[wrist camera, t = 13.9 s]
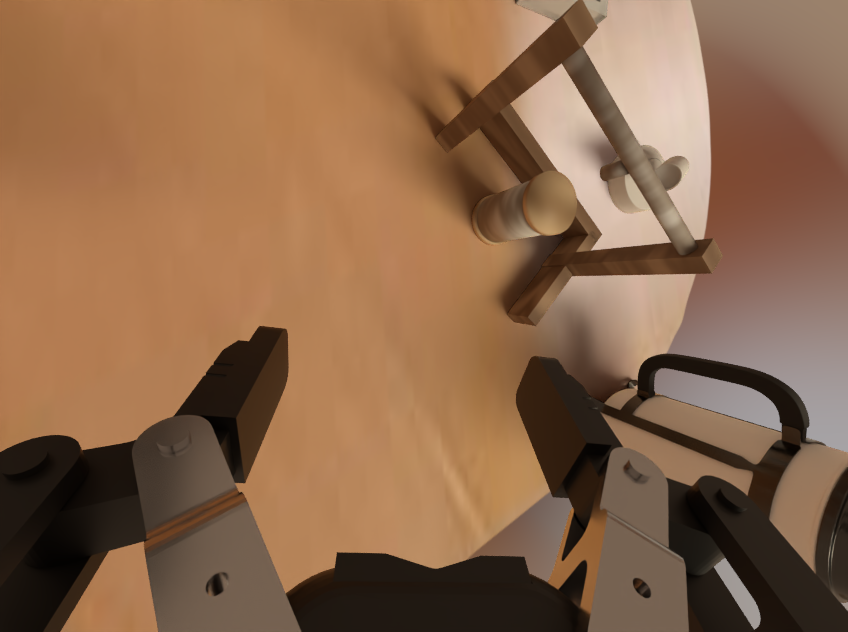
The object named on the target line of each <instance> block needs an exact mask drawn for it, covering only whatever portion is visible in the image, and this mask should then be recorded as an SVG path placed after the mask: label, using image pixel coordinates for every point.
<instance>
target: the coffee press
mask: <svg viewBox="0 0 848 632" xmlns="http://www.w3.org/2000/svg"><path fill="white" fill-rule="evenodd" d="M661 368H668V369H674V370H678V371H683V372H688V373H692V374H696V375H701V376H705V377H709V378H714V379H718V380H723V381H727V382H731V383H736V384H740V385H743V386H747V387H750V388H752V389H755V390H757V391H759V392H760V393H762V394H763V395H765V396H766V397H767V398H769V399H770V400H771V401H772V402H773V403H774V405H775V406H776V408H777V410H778V412H779V416H780V423H782V432H781V431H777V430H774V429H770V428H767V427H764V426H761V425H757V424H754V423H751V422H747V421H744V420H741V419H737V418H734V417H731V416H727V415H724V414H721V413H717V412H714V411H711V410H708V409H704V408H701V407H698V406H694V405H691V404H688V403H684V402H681V401H678V400H674V399H671V398H668V397H666V396H664V395H660V394H657V393H655V391H654V377H655V374H656V372H657V371H658V370H659V369H661ZM636 385H638V389H633V388H634V386H636ZM628 387H629V389H624V390H621V391H619V392H617V393H615V394H613V395H612V396H611V397H610V398H608V400H607V401H606V402H605V403H602V402H600V401H598V400H596V399H595V398H593V397H591V396H590V400H592V401H593V402H594V404H595V405H596V407H597V410H598V411H600V413H601V414H602V416H603V417H604V419H605V420H606V422H607V423H608V425H609V426H610V428H611V429H612V431H613V432H614V434H615V435H616V437H617V438H618V440H619V441H620V443H621V444H622V446H623V447H624V448H629V449H632V450H635V451H637V452H639V453H641V454H643V455H645V456H646V457H647V458H649V459H650V460H651V461H652V462H654V463H655V464H656V465H657V466H658V467H659V469H660V470H661V471H662V472H663V474H664V475H665V477H666V478H669V479H672V480H675V481H678V482H681V483H684V484H687V485H689V486H693V485H694V484H695V483H696V481H697V480H698V479H699V478H700V477H702V476H705V475H710V476H715V477H718V478H721V479H723V480H725V481H727V482H729V483H731V484H732V485H734V486H736V487H737V488H738V489H740V490H741V491H742V492H744V493H745V494H746V495H747V496H748V497H749V498H750V499H751V500H752V501H753V502H754V503H755V504H756V505H757V506H758V507H759V508H760V510H761V511H762V512H763V513H764V514H765V515H766V517H767V518H768V519H769V520H770V521H771V522H772V524H773V525H774V526H775V527H776V528H777V529H778V531H779V532H780V533H781V534H782V535H783V536H784V538H785V539H786V540H787V541H788V542H789V543H790V545H791V546H792V547H793V548H794V549H795V550H796V552H797V553H798V554H799V555H800V556H801V557H802V559H803V560H804V561H805V562H806V563H807V564H808V566H809V567H810V568H811V569H812V570H813V571H814V573H815V574H816V575H817V576H818V577H819V578H820V579H821V581H822V582H823V583H824V584H825V585H826V586H827V588H828V589H829V590H830V591H831V592H832V593H833V595H834V596H835V597H836V598H837V599H838V600H839V602H841V603H846V602H848V453H847V452H844V451H841V450H837V449H834V448H831V447H828V446H826V445H825V444H824V443H822V442H819V441H816V440H812V439H809V438H806V431H807V428H808V427H809V417H808V413H807V410H806V408H805V405H804V403H803V401H802V400H801V398H800V397H799V396H798V394H797V393H796V392H795V391H794V390H793V389H791V388H790V387H789V386H788V385H786V384H785V383H783V382H782V381H780V380H779V379H777V378H774V377H773V376H771V375H768V374H766V373H763V372H761V371H757V370H754V369H750V368H747V367H742V366H738V365H733V364H728V363H723V362H716V361H712V360H707V359H701V358H696V357H690V356H684V355H677V354H660V355H656V356H653V357H650V358H648V359H647V360H645V361H644V362H643V363H642V365H641V367H640V369H639V373H638V381H637V380H631V381H630V382H629V383H628Z"/></svg>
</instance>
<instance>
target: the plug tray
mask: <svg viewBox="0 0 848 632" xmlns="http://www.w3.org/2000/svg"><path fill="white" fill-rule="evenodd" d="M576 1H577V0H516V4H518V5H520V6H522V7H525V8H527V9H530V10H532V11H534V12H537V13H539V14H541V15H544V16H546V17H549V18H551V19H553V20H557V19H559V18H560V17H561V16H562V15H563V14H564V13H565V12H566V11H567V10H568V9H569V8H570V7H571V6H572V5H573V4H574V3H575V2H576ZM583 1H584V3H585V5H586V7H587V9H588V11H589V12H590V14H591V16H592V18H593V20H594V21H595V23H596V25H597V24H598V23H600V22H601V21H602V20H603V19H604V18H606V17H607V7H608V0H583Z"/></svg>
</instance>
